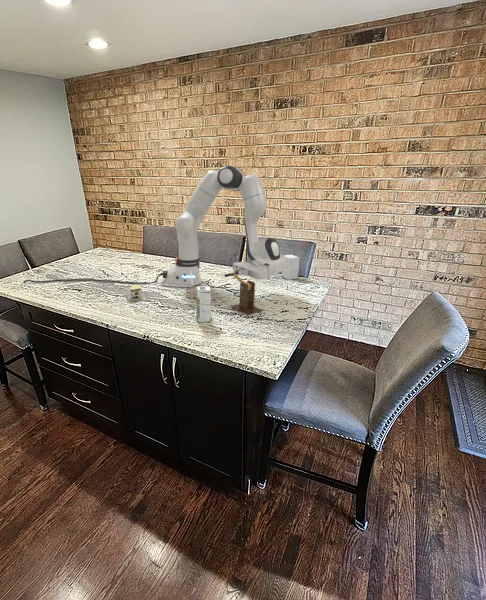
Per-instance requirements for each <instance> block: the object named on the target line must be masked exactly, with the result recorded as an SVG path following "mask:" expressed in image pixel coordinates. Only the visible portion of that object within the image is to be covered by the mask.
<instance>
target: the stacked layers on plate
mask: <svg viewBox="0 0 486 600" xmlns="http://www.w3.org/2000/svg"><path fill="white" fill-rule="evenodd" d="M142 288H143V286H141V284H130V294H126V298H127V300H128V301H129V302H130V303H133V302H138V301H145V300H148V297H146V295H145V293H144V292H143V289H142Z"/></svg>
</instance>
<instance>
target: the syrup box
mask: <svg viewBox="0 0 486 600" xmlns="http://www.w3.org/2000/svg"><path fill="white" fill-rule="evenodd" d="M211 303H212V289H211V286H209V285H200V286H198V285H196V321H197V323H206V322H209V323H210V322H211V317H212V315H211V313H212V311H211V307H212V306H211Z"/></svg>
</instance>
